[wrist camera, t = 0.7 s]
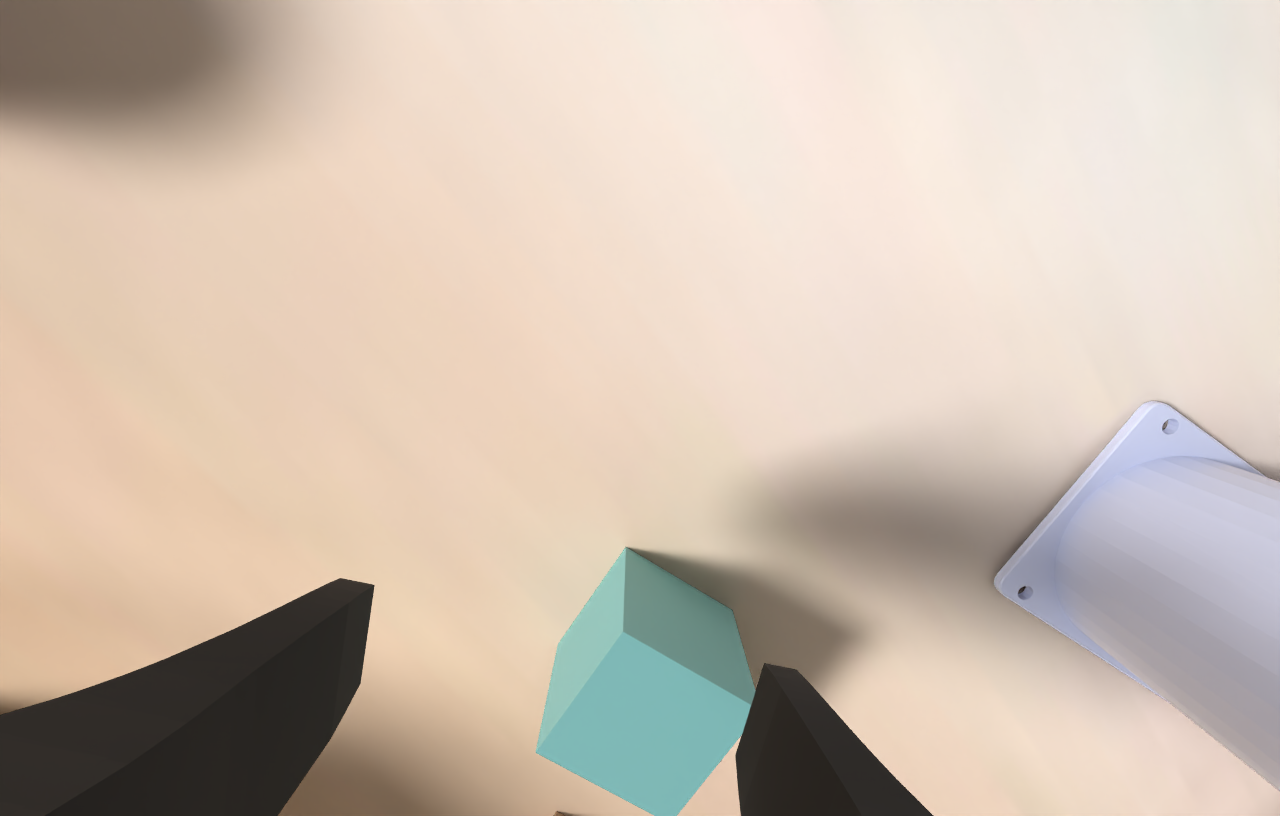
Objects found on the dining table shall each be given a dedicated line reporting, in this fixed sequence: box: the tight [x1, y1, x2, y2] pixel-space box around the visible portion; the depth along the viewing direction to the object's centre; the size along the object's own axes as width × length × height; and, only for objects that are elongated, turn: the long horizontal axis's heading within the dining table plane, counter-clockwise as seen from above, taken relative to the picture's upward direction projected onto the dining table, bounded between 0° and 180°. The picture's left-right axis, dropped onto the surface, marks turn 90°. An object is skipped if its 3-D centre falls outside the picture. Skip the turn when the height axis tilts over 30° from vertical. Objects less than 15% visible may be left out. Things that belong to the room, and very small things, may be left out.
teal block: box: [536, 547, 756, 816], centre depth 19 cm, size 4×4×5 cm
